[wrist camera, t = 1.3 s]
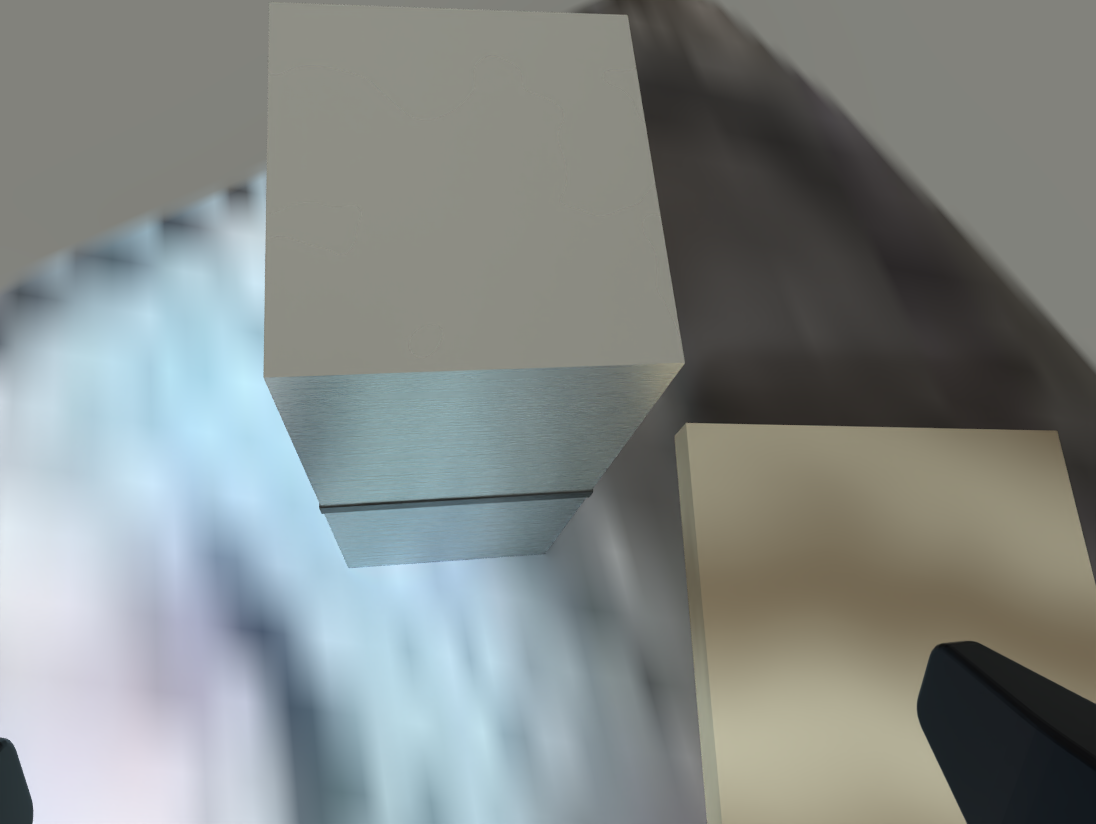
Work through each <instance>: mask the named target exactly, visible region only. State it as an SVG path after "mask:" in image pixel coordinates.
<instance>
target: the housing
mask: <svg viewBox="0 0 1096 824" xmlns="http://www.w3.org/2000/svg"><path fill="white" fill-rule="evenodd" d="M268 63H269V64H268V125H267V126H268V127H267V129H268V130H267V189H266V254H265V318H264V380H265V382H266V384H267V386H268V389H269V391H270V393H271V395H272V398H273V400H274V402H275V404H276V407H277V409H278V411H279V413H280V416H281V418H282V420H283V422H284V425H285V427H286V429H287V431H288V434H289V436H290V438H291V440H292V443H293V445H294V447H295V449H296V452H297V454H298V456H299V458H300V461H301V463H302V465H303V467H304V470H305V472H306V474H307V476H308V479H309V481H310V483H311V485H312V488H313V490H314V492H315V494H316V496H317V499H318V501H319V509H320V511H321V513H322V514H325V517H326V519H327V521H328V523H329V526H330V528H331V530H332V532H333V535H334V537H335V539H336V541H337V544H338V546H339V548H340V550H341V553H342V555H343V557H344V559H345V562H346V564H347V566H348V568H357V567H371V566H385V565H399V564H413V563H426V562H440V561H454V560H468V559H481V558H495V557H509V556H523V555H537V554H545V553H546V552H547V550H548V549H549V548H550V546H551V545H552V543H553V542H554V541H555V539H556V538H557V537H558V535H559V534H560V533H561V531H562V530H563V528H564V527H565V526H566V524H567V523H568V522H569V520H570V519H571V518H572V516H573V515H574V513H575V512H576V511H577V509H578V508H579V507H580V505H581V504H582V503H583V501H584V500H585V498H586V497H590V495H591V494H592V493H593V488H594V486H595V485H596V483H597V482H598V481H599V479H600V478H601V477H602V475H603V474H604V473H605V471H606V470H607V468H608V467H609V466H610V464H611V463H612V462H613V460H614V459H615V458H616V456H617V455H618V453H619V452H620V451H621V449H622V448H623V447H624V445H625V444H626V443H627V441H628V440H629V438H630V437H631V436H632V434H633V433H634V432H635V430H636V429H637V428H638V426H639V425H640V423H641V422H642V421H643V419H644V418H645V417H646V415H647V414H648V413H649V411H650V410H651V408H652V407H653V406H654V404H655V403H656V402H657V400H658V399H659V398H660V396H661V395H662V393H663V392H664V391H665V389H666V388H667V387H668V385H669V384H670V383H671V381H672V380H673V378H674V377H675V376H676V374H677V373H678V372H679V370H680V369H681V368H682V366H683V365H684V363H685V360H684V354H683V348H682V342H681V336H680V330H679V324H678V318H677V312H676V306H675V300H674V294H673V288H672V282H671V275H670V269H669V263H668V257H667V251H666V245H665V239H664V233H663V227H662V221H661V215H660V209H659V203H658V197H657V191H656V185H655V179H654V173H653V167H652V161H651V154H650V148H649V142H648V136H647V130H646V124H645V118H644V112H643V106H642V100H641V94H640V88H639V82H638V76H637V70H636V64H635V58H634V52H633V46H632V40H631V34H630V27H629V21H628V15H612V14H584V13H555V12H528V11H500V10H473V9H445V8H417V7H389V6H361V5H359V6H358V5H333V4H332V5H331V4H306V3H277V2H270V3H269V61H268Z"/></svg>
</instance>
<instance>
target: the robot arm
mask: <svg viewBox="0 0 1096 824" xmlns="http://www.w3.org/2000/svg"><path fill="white" fill-rule="evenodd" d="M917 716H918V719H919V723H920V726H921V728H922V730H923V732H924V734H925V737H926V739H927V741H928V743H929V745H930V747H931V749H932V751H933V753H934V756H935V758H936V760H937V762H938V764H939V766H940V768H941V770H942V772H943V775H944V777H945V779H946V781H947V783H948V785H949V787H950V789H951V791H952V794H953V796H954V798H955V800H956V802H957V804H958V806H959V808H960V810H961V813H962V815H963V817H964V819H965V821H966V823H967V824H1096V704H1095V703H1093V702H1091V701H1089V700H1088V699H1086V698H1084V697H1082V696H1080V695H1078V694H1076V693H1074V692H1072V691H1070V690H1068V689H1066V688H1065V687H1063V686H1061V685H1059V684H1057V683H1055V682H1053V681H1051V680H1049V679H1047V678H1045V677H1044V676H1042V675H1040V674H1038V673H1036V672H1034V671H1032V670H1030V669H1028V668H1026V667H1024V666H1023V665H1021V664H1019V663H1017V662H1015V661H1013V660H1011V659H1009V658H1007V657H1005V656H1003V655H1002V654H1000V653H998V652H996V651H994V650H992V649H990V648H988V647H986V646H984V645H982V644H980V643H978V642H975V641H957V642H947V643H940V644H938V645H936V646H935V647H934V648H933V650H932V651H931V653H930V656H929V659H928V663H927V666H926V670H925V673H924V677H923V680H922V684H921V687H920V691H919V695H918V698H917ZM32 823H33V803H32V799H31V796H30V792H29V789H28V786H27V783H26V780H25V777H24V774H23V770H22V767H21V764H20V761H19V758H18V755H17V752H16V749H15V747H14V745H13V744H12V742H11V741H10V740H8V739H6V738H0V824H32Z"/></svg>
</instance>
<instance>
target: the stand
mask: <svg viewBox="0 0 1096 824" xmlns="http://www.w3.org/2000/svg"><path fill="white" fill-rule="evenodd" d="M675 448H676V460H677V472H678V484H679V495H680V507H681V519H682V531H683V543H684V554H685V566H686V578H687V590H688V602H689V613H690V625H691V637H692V649H693V661H694V672H695V684H696V696H697V708H698V720H699V731H700V743H701V755H702V767H703V779H704V790H705V802H706V814H707V824H967V823H966V821H965V819H964V817H963V815H962V813H961V810H960V808H959V806H958V804H957V802H956V800H955V798H954V796H953V794H952V791H951V789H950V787H949V785H948V783H947V781H946V779H945V777H944V775H943V772H942V770H941V768H940V766H939V764H938V762H937V760H936V758H935V756H934V753H933V751H932V749H931V747H930V745H929V743H928V741H927V739H926V737H925V734H924V732H923V730H922V728H921V726H920V723H919V719H918V716H917V698H918V695H919V691H920V687H921V684H922V680H923V677H924V673H925V670H926V666H927V663H928V659H929V656H930V653H931V651H932V650H933V648H934V647H935V646H936V645H938V644H940V643H947V642H957V641H975V642H978V643H980V644H982V645H984V646H986V647H988V648H990V649H992V650H994V651H996V652H998V653H1000V654H1002V655H1003V656H1005V657H1007V658H1009V659H1011V660H1013V661H1015V662H1017V663H1019V664H1021V665H1023V666H1024V667H1026V668H1028V669H1030V670H1032V671H1034V672H1036V673H1038V674H1040V675H1042V676H1044V677H1045V678H1047V679H1049V680H1051V681H1053V682H1055V683H1057V684H1059V685H1061V686H1063V687H1065V688H1066V689H1068V690H1070V691H1072V692H1074V693H1076V694H1078V695H1080V696H1082V697H1084V698H1086V699H1088V700H1089V701H1091V702H1093V703H1095V704H1096V585H1095V581H1094V577H1093V573H1092V569H1091V565H1090V561H1089V557H1088V553H1087V549H1086V545H1085V541H1084V537H1083V533H1082V529H1081V525H1080V521H1079V517H1078V513H1077V509H1076V505H1075V501H1074V497H1073V493H1072V489H1071V485H1070V481H1069V477H1068V473H1067V469H1066V465H1065V461H1064V457H1063V453H1062V449H1061V445H1060V441H1059V437H1058V433H1057V431H1045V430H997V429H950V428H902V427H854V426H807V425H759V424H711V423H686V424H685V425H684V426H683V427H682V428H681V429H680V430H679V431H678V433H677V434H676V435H675Z"/></svg>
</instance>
